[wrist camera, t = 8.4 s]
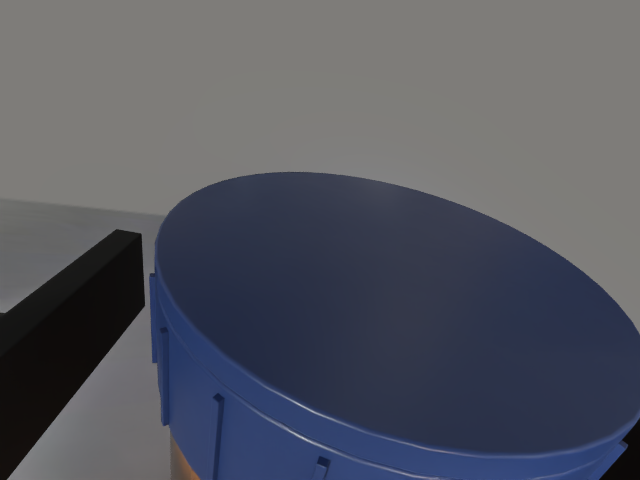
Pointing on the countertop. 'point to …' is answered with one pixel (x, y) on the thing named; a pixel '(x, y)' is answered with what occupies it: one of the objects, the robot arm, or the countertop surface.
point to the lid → (380, 339)
